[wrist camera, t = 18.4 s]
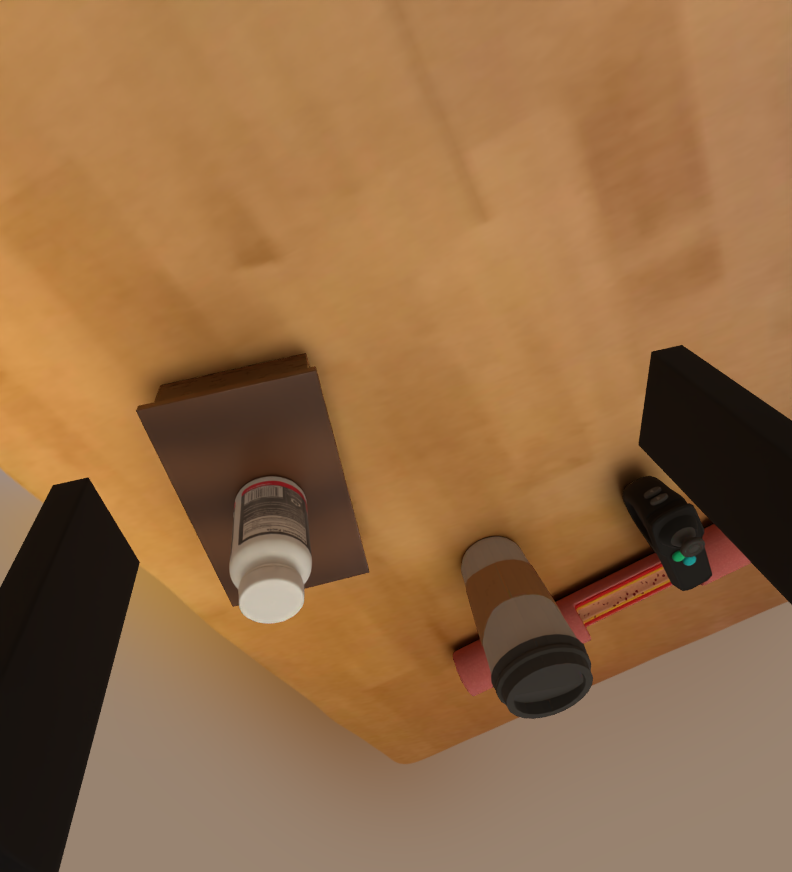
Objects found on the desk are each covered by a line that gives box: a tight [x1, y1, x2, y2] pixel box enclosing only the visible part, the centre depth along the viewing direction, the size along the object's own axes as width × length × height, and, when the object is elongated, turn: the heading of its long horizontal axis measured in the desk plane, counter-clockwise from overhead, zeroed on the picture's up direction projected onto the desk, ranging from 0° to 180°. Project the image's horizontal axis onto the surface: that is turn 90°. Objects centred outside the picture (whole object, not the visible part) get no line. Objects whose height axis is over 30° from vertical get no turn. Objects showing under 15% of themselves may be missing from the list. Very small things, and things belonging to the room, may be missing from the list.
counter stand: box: [136, 353, 369, 607], centre depth 44 cm, size 20×12×4 cm, turn 10°
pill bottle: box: [229, 476, 312, 623], centre depth 38 cm, size 5×5×10 cm
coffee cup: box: [461, 536, 593, 719], centre depth 50 cm, size 8×8×15 cm
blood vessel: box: [453, 524, 751, 696], centre depth 60 cm, size 42×5×5 cm, turn 118°
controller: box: [623, 476, 712, 591], centre depth 52 cm, size 4×12×10 cm, turn 31°
